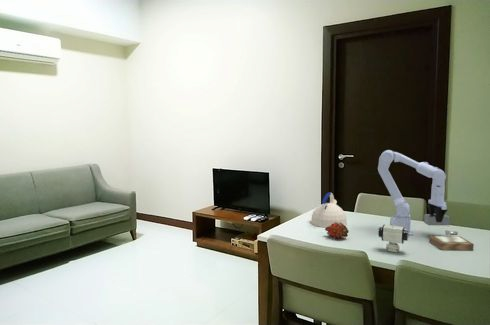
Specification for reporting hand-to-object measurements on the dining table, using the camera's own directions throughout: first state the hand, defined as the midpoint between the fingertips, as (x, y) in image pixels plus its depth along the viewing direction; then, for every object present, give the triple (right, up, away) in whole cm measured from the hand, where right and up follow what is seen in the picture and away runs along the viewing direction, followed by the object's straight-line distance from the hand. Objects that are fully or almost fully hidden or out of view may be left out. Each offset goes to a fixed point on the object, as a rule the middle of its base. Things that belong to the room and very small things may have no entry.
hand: (436, 220), depth 172 cm
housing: (0, -2, 0) cm, 2 cm away
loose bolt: (+10, -8, +4) cm, 14 cm away
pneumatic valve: (-30, -11, -19) cm, 37 cm away
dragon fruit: (-50, -9, 0) cm, 51 cm away
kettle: (-47, -6, +27) cm, 55 cm away
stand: (-1, -10, -13) cm, 16 cm away
